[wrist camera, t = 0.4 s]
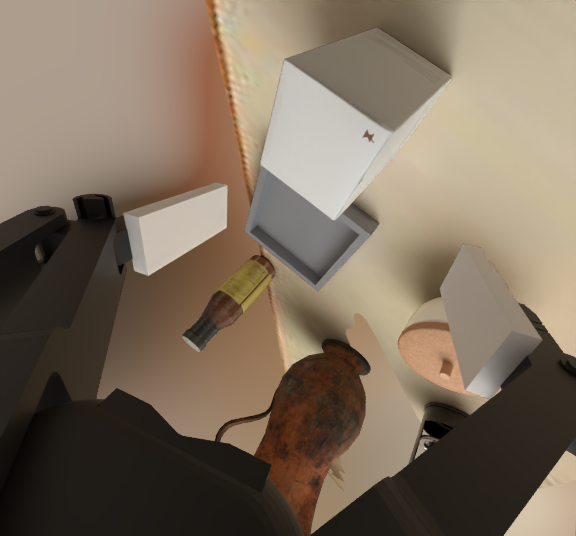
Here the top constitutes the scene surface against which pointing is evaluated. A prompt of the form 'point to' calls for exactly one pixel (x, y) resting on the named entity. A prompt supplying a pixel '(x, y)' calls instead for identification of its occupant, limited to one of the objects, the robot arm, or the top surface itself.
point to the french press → (436, 424)
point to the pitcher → (311, 423)
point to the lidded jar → (432, 347)
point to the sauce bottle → (230, 301)
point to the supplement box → (346, 115)
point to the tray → (304, 230)
